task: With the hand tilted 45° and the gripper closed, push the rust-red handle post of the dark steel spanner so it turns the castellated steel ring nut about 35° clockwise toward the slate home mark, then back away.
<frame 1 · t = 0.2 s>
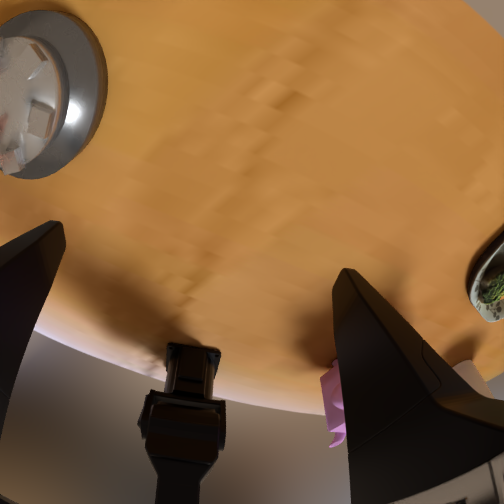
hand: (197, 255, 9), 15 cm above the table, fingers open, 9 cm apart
dixie cup: (458, 368, 43), on the table
flange base: (35, 92, 18), on the table
teapot: (366, 354, 38), on the table
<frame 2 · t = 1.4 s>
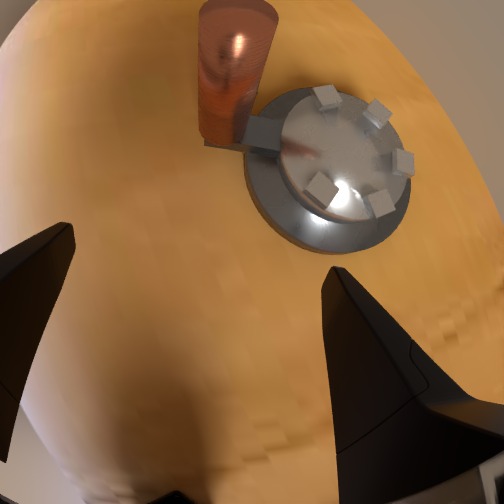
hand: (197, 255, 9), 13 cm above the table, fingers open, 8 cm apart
flange base: (328, 170, 25), on the table
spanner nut: (335, 113, 16), point 8 cm above the table, hinge at 0.0°
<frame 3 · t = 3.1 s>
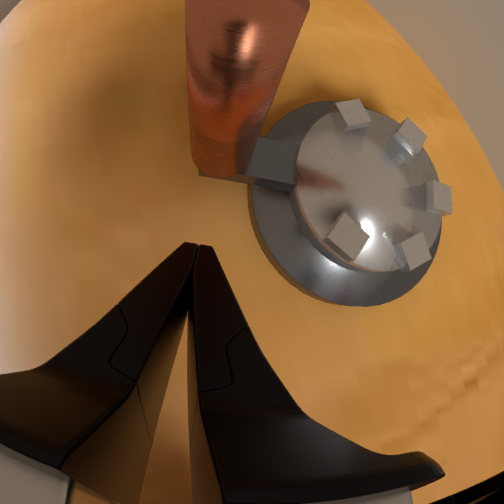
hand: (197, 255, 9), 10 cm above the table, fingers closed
flange base: (348, 202, 21), on the table
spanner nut: (370, 140, 12), point 8 cm above the table, hinge at 0.0°
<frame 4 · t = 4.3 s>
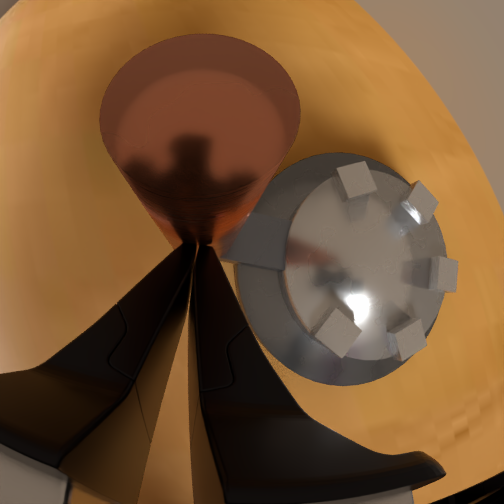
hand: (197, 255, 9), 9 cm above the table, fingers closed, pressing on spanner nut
flange base: (345, 268, 19), on the table
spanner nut: (372, 239, 11), point 8 cm above the table, hinge at 1.6°, touching gripper
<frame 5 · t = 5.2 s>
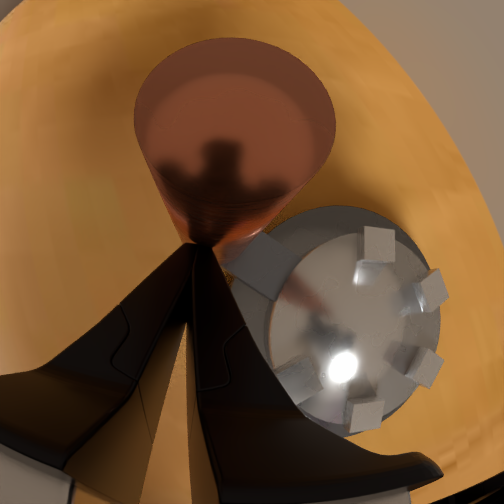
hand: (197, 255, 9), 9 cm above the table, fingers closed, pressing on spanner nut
flange base: (335, 324, 19), on the table
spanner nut: (367, 307, 10), point 8 cm above the table, hinge at 24.9°, touching gripper
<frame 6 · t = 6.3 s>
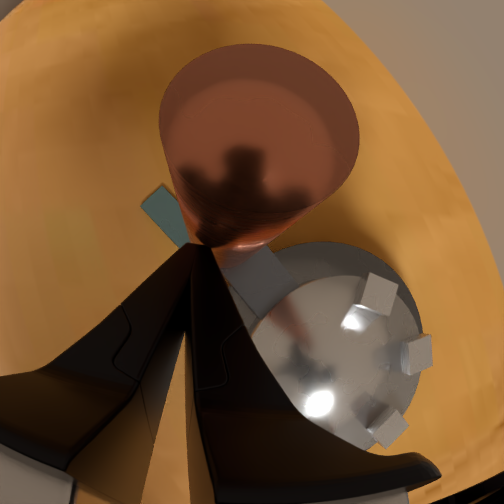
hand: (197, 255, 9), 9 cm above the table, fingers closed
flange base: (314, 360, 18), on the table
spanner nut: (346, 351, 10), point 8 cm above the table, hinge at 41.7°, touching gripper
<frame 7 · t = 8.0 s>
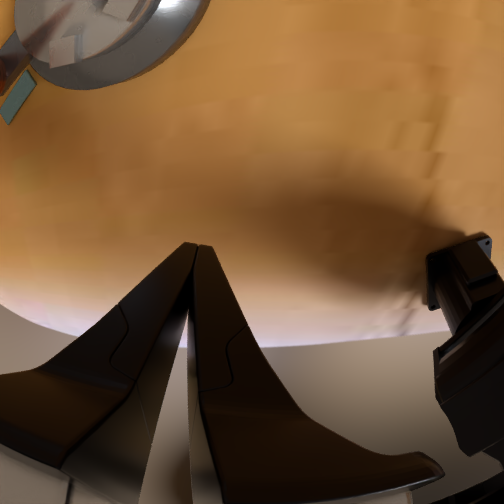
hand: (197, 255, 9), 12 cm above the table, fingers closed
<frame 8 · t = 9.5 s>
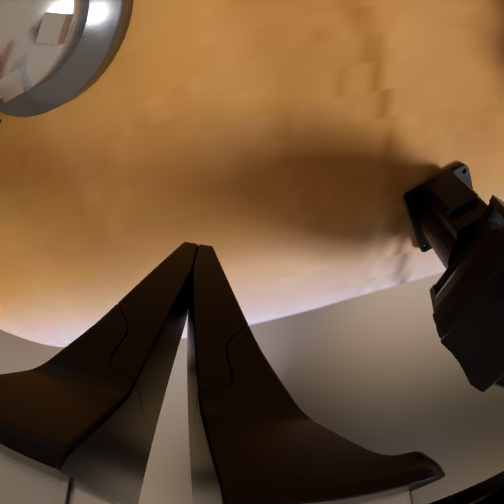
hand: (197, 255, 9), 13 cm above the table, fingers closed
flange base: (45, 21, 13), on the table
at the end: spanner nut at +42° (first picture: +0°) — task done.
